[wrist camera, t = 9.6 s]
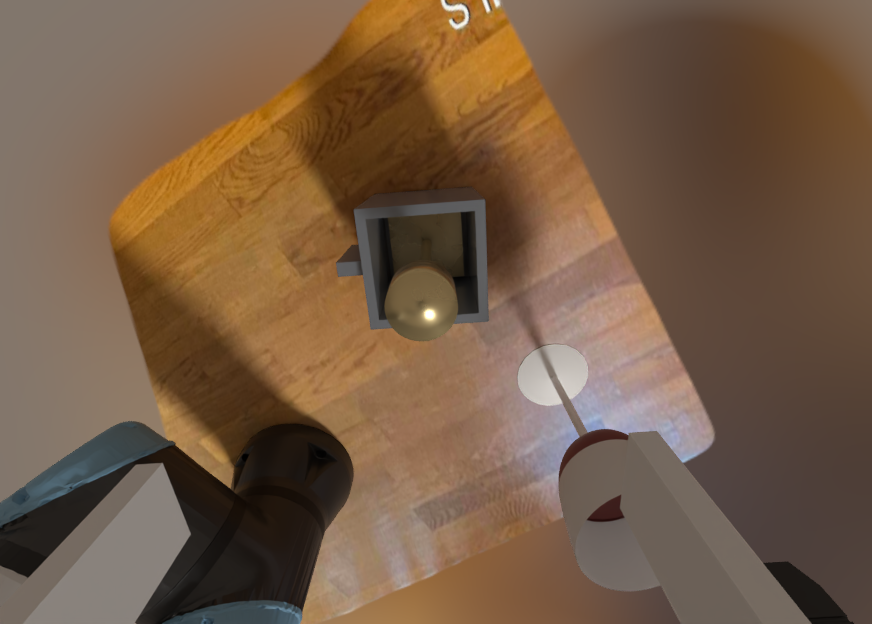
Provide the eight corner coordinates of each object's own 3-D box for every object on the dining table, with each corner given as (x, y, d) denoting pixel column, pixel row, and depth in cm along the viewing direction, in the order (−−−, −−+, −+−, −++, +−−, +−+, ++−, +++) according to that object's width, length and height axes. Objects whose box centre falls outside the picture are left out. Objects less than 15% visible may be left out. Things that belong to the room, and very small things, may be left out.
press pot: (365, 287, 46) (342, 331, 35) (351, 195, 42) (322, 211, 31) (475, 279, 46) (488, 321, 34) (471, 186, 42) (485, 199, 31)
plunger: (395, 278, 43) (369, 364, 26) (387, 209, 41) (352, 253, 23) (463, 273, 43) (483, 357, 26) (459, 203, 41) (479, 244, 23)
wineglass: (513, 411, 52) (569, 592, 31) (517, 339, 48) (582, 489, 27) (585, 409, 52) (691, 589, 31) (594, 337, 48) (722, 486, 27)
